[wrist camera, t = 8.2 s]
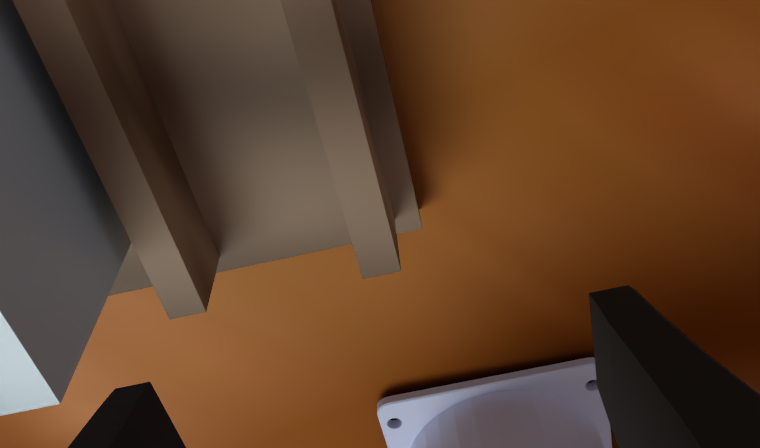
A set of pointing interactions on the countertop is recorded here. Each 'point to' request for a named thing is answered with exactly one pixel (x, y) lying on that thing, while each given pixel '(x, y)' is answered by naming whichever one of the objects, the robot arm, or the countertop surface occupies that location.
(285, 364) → the countertop surface
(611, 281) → the countertop surface
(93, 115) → the rack
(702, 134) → the countertop surface
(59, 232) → the grey block
